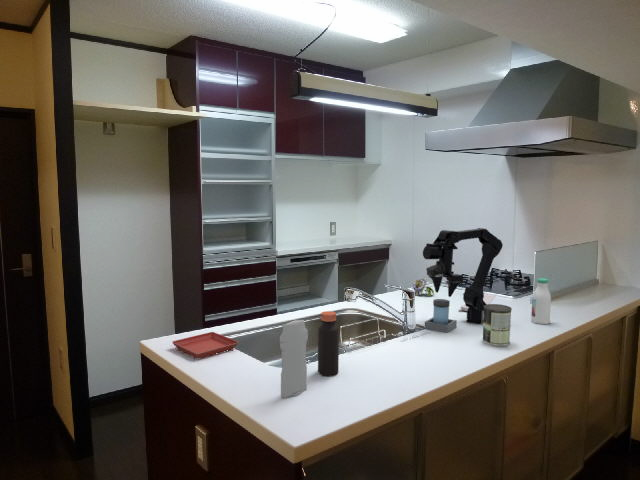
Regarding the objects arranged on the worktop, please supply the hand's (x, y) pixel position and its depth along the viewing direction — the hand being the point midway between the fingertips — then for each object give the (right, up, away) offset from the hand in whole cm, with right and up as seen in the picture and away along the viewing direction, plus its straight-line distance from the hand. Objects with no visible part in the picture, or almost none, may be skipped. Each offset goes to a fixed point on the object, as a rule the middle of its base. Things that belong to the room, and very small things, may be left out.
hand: (443, 294), depth 212 cm
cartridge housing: (-2, -14, -2) cm, 14 cm away
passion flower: (+5, -7, +63) cm, 63 cm away
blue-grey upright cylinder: (-2, -14, -2) cm, 14 cm away
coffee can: (+16, -17, -20) cm, 31 cm away
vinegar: (-51, -20, -53) cm, 76 cm away
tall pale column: (-62, -22, -69) cm, 95 cm away
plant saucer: (-97, -18, -31) cm, 103 cm away
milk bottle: (+46, -14, +8) cm, 49 cm away
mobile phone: (+25, -11, +32) cm, 42 cm away
